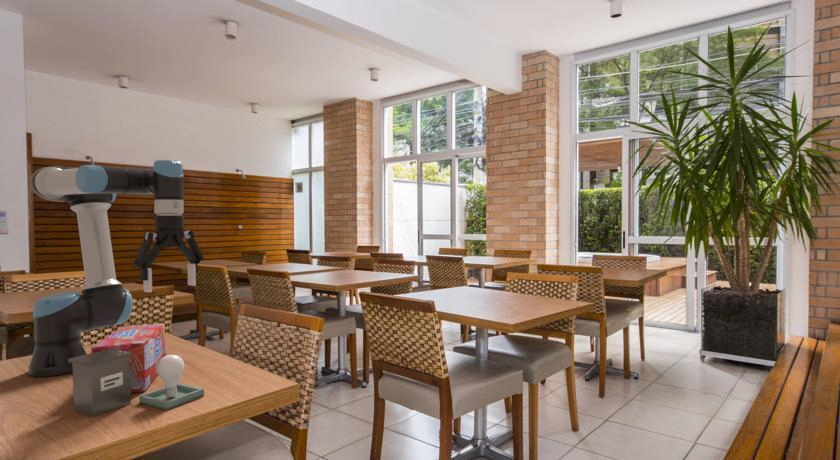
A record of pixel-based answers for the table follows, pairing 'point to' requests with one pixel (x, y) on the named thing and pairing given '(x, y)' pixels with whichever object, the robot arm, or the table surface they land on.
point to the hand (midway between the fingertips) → (170, 288)
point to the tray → (165, 403)
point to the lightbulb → (170, 373)
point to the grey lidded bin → (101, 381)
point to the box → (138, 351)
